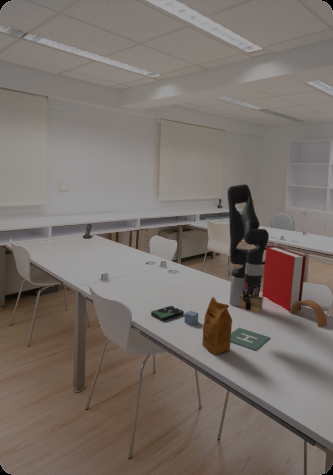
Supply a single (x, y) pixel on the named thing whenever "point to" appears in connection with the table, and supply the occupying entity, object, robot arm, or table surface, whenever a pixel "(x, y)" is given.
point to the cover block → (252, 303)
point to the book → (283, 276)
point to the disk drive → (167, 313)
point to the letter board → (248, 338)
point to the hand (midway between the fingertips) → (250, 308)
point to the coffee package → (217, 327)
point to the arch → (316, 309)
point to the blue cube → (191, 317)
